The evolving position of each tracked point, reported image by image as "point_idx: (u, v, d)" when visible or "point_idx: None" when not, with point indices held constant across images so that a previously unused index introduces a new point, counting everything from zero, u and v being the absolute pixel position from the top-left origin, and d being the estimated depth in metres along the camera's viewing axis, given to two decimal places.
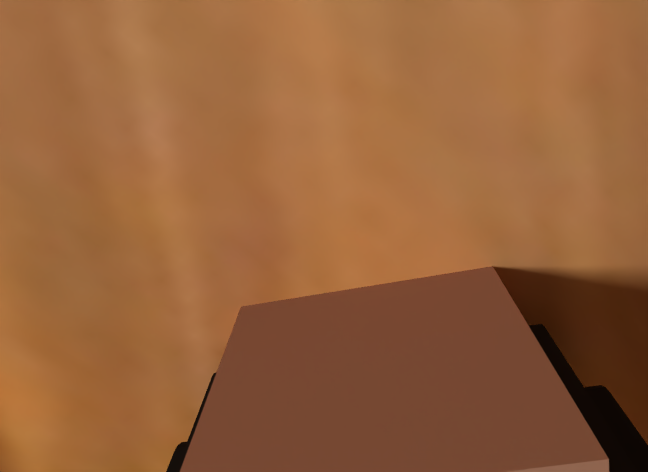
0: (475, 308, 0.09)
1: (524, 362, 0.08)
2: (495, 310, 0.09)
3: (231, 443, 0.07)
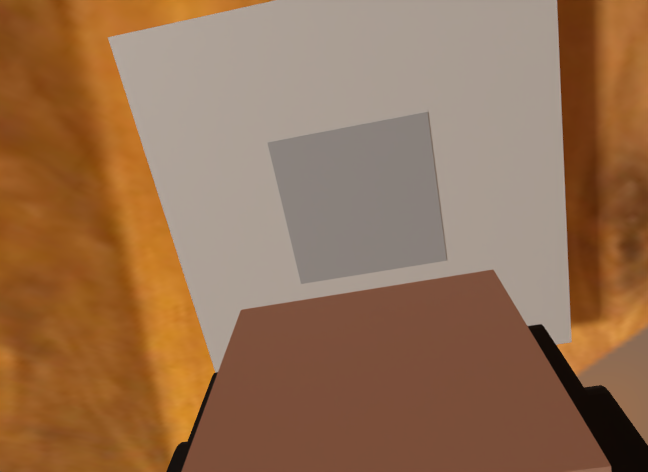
0: (476, 312, 0.09)
1: (525, 367, 0.08)
2: (496, 314, 0.09)
3: (231, 449, 0.07)
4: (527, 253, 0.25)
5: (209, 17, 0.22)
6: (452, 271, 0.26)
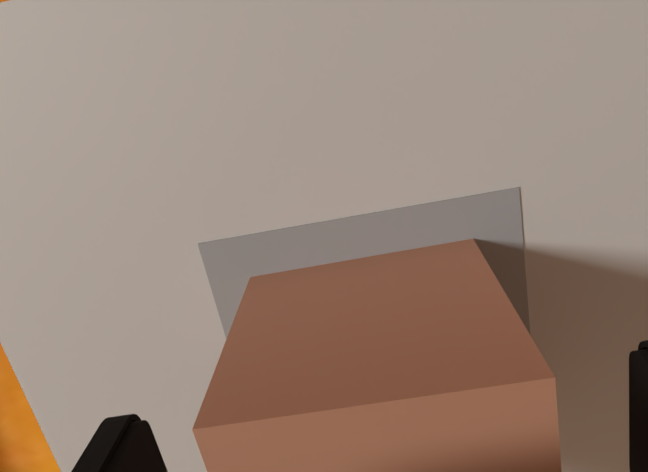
0: (455, 272, 0.11)
1: (494, 311, 0.09)
2: (472, 273, 0.10)
3: (245, 379, 0.09)
4: None
5: None
6: None
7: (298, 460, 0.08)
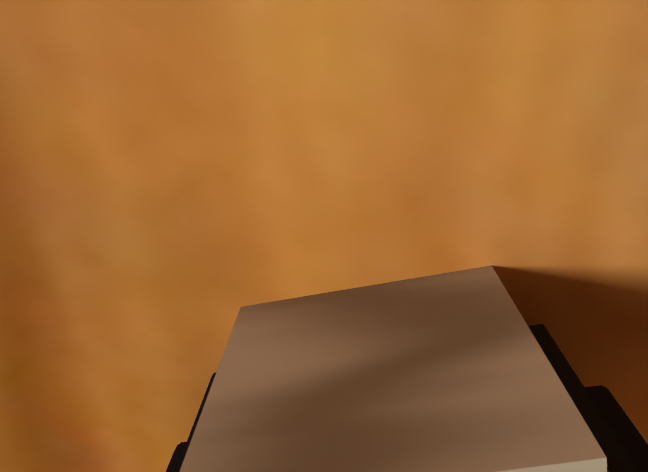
0: None
1: None
2: None
3: None
4: None
5: None
6: None
7: None
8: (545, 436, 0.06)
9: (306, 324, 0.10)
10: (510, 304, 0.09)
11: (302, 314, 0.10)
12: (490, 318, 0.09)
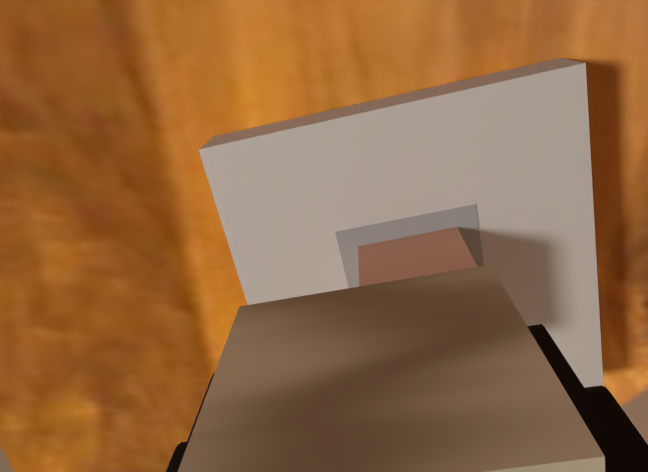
0: (448, 240, 0.26)
1: (462, 253, 0.24)
2: (455, 240, 0.26)
3: (372, 278, 0.24)
4: (563, 318, 0.29)
5: (286, 131, 0.26)
6: None
7: None
8: (543, 435, 0.06)
9: (305, 324, 0.10)
10: (508, 303, 0.09)
11: (301, 313, 0.10)
12: (489, 317, 0.09)
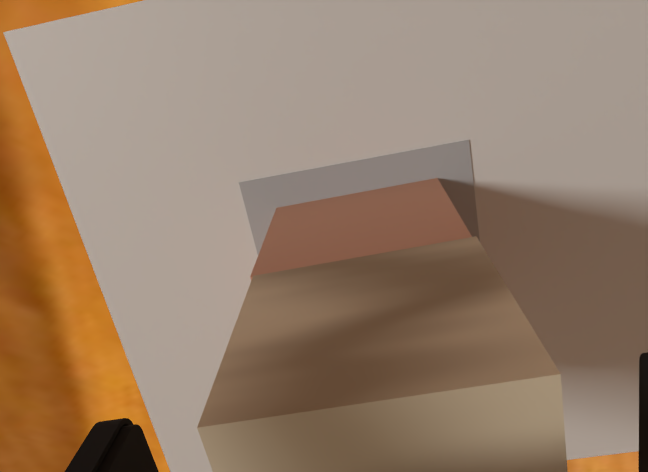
0: (422, 196, 0.15)
1: (443, 213, 0.14)
2: (433, 195, 0.15)
3: (281, 254, 0.13)
4: (602, 333, 0.18)
5: (150, 2, 0.15)
6: None
7: None
8: (512, 361, 0.08)
9: (312, 288, 0.11)
10: (491, 265, 0.10)
11: (308, 279, 0.12)
12: (473, 277, 0.10)
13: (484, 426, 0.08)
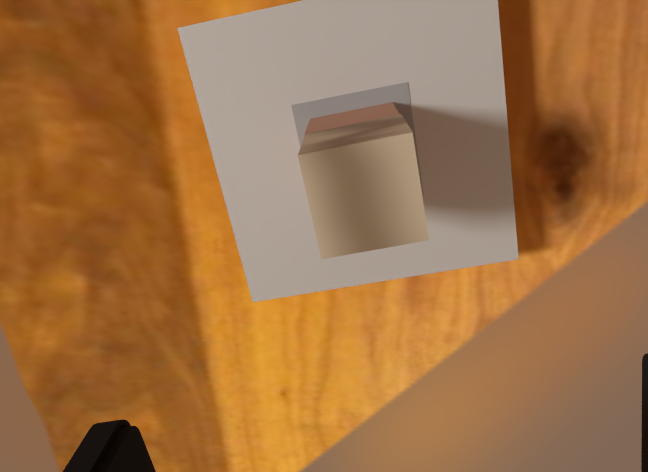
0: (383, 107, 0.31)
1: (390, 110, 0.30)
2: (388, 106, 0.31)
3: (316, 128, 0.29)
4: (482, 188, 0.34)
5: (251, 13, 0.31)
6: (427, 203, 0.35)
7: None
8: (400, 132, 0.24)
9: (332, 132, 0.27)
10: (403, 119, 0.26)
11: (330, 131, 0.28)
12: (395, 122, 0.26)
13: (390, 152, 0.24)
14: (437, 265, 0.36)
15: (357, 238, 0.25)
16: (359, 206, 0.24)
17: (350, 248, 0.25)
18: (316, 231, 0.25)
